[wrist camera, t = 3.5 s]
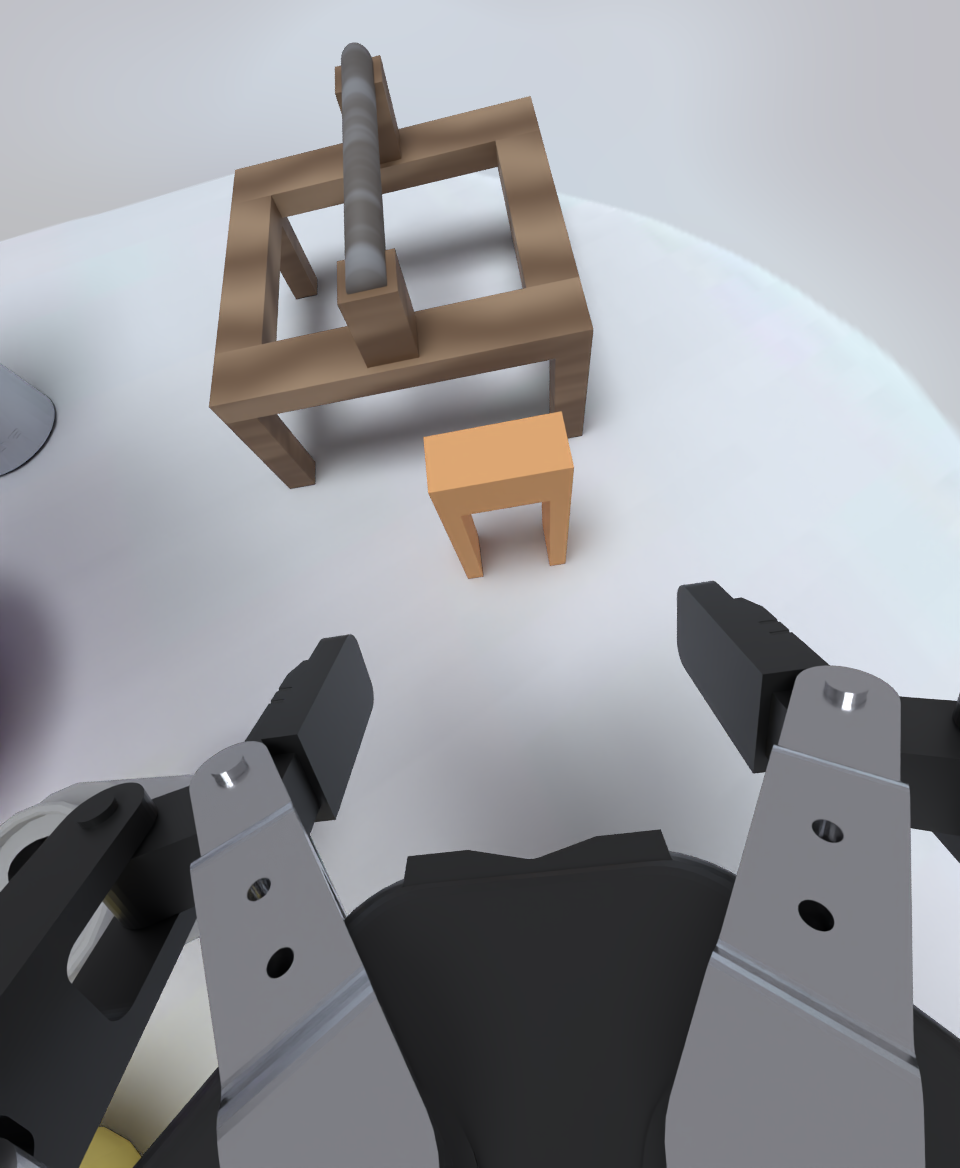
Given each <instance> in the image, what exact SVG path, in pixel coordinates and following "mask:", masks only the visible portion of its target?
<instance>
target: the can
mask: <svg viewBox="0 0 960 1168" xmlns="http://www.w3.org/2000/svg"><path fill="white" fill-rule="evenodd" d="M193 776H194V775H184V776H169V777H155V778H140V779H126V780H111V781H97V782H83V783H76V784H74V785H71V786H69V787H67V788H64V789H62V790H60V791H57V792H55V793H53V794H51V795H49V796H48V797H47V798H46V799H44V800H43V801H42V802H41V803H39V804H37V805H34V806H32V807H30V808H27V809H25V810H23V811H20V812H18V813H16V814H15V815H13V816H12V817H11V818H10V819H8V820H7V821H6V822H4V823H3V824H2V825H1V826H0V892H1V890H2V889H3V888H4V887H5V886H6V885H7V884H8V882H9V881H10V880H11V879H12V878H13V877H14V876H15V874H16V873H17V872H18V871H19V870H20V869H21V868H22V866H23V865H24V864H25V863H26V862H27V861H28V860H29V858H30V857H31V856H32V855H33V854H34V853H35V852H36V850H37V849H38V848H39V847H40V846H41V845H42V844H43V842H44V841H45V840H46V839H47V838H48V837H49V836H50V834H51V833H52V832H53V831H54V830H55V829H56V828H57V826H58V825H59V824H60V823H61V822H62V821H63V820H64V819H65V818H66V816H67V815H68V814H70V813H71V812H72V811H73V810H74V809H75V808H76V807H78V806H79V805H80V804H82V803H83V802H84V801H86V800H87V799H89V798H90V797H92V796H94V795H96V794H97V793H99V792H101V791H103V790H105V789H108V788H110V787H112V786H115V785H118V784H123V783H129V782H134V783H139V784H140V785H142V786H143V788H144V789H145V791H146V792H147V794H148V795H149V797H150V798H151V799H154V798H156V797H159V796H162V795H165V794H167V793H170V792H173V791H176V790H179V789H181V788H184V787H187V786H190V782H191V780H192V778H193ZM113 917H114V915H113V914H112V912H111V911H110V910H109V909H108V908H107V906H106V905H105V904H104V903H103V902H102V903H101V904H100V906H99V907H98V909H97V910H96V912H95V913H94V915H93V916H92V918H91V919H90V921H89V922H88V924H87V925H86V927H85V928H84V930H83V931H82V933H81V934H80V936H79V937H78V939H77V940H76V942H75V944H74V945H73V948H72V950H71V952H70V955H69V959H68V964H67V975H68V979H69V981H70V982H71V984H72V982H73V981H74V979H75V978H76V976H77V974H78V973H79V971H80V970H81V968H82V966H83V965H84V963H85V962H86V960H87V958H88V957H89V955H90V954H91V952H92V950H93V949H94V947H95V946H96V944H97V942H98V941H99V939H100V938H101V936H102V934H103V933H104V931H105V930H106V928H107V926H108V925H109V923H110V922H111V920H112V918H113ZM198 937H200V936H199V929H198V922H197V919H196V921H195V923H194V925H193V928H192V930H191V932H190V934H189V936H188V938H187V940H186V942H185V944H187V943H189V942H191V941H192V940H194V939H196V938H198Z"/></svg>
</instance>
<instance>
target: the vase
mask: <svg viewBox="0 0 960 1168" xmlns="http://www.w3.org/2000/svg"><path fill="white" fill-rule="evenodd" d="M140 1158H141V1156H140V1154H139V1153H138V1152H137V1150H136V1149H135V1148H134V1146H133V1145H132V1143H131V1142H130V1141H128V1140H127V1139H125V1138H123V1137H121V1136H120V1135H118V1134H116V1133H114V1132H113V1131H111V1130H109V1129H108V1128H106V1127H98V1129H97V1131H96V1133H95V1135H94V1137H93V1139H92V1141H91V1143H90V1146H89V1148H88V1150H87V1152H86V1154H85V1156H84V1158H83V1160H82V1163H81V1165H80V1167H79V1168H133V1166H134V1165H135V1164H136V1163H137V1162H138V1161H139V1159H140Z"/></svg>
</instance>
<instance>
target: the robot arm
mask: <svg viewBox="0 0 960 1168" xmlns="http://www.w3.org/2000/svg"><path fill="white" fill-rule="evenodd" d="M54 414H55V411H54V407H53V404H52V402H51V401H50V399H49V398H48V397H47V396H45V395H44V394H43V393H41V392H40V391H38V390H37V389H36V388H34V387H33V386H31V385H30V384H29V383H27V382H26V381H24V380H23V379H22V378H20V377H19V376H17V375H16V374H15V373H13V372H12V371H10V370H9V369H8V368H6V367H5V366H3V365H2V364H1V363H0V475H2V474H5V473H7V472H9V471H12V470H14V469H15V468H17V467H18V466H20V465H22V464H23V463H25V462H26V461H27V460H28V459H29V458H31V457H32V456H33V455H34V454H35V453H36V452H37V451H38V450H39V448H40V447H41V446H42V445H43V443H44V442H45V440H46V439H47V437H48V435H49V433H50V431H51V429H52V426H53V422H54ZM677 646H678V652H679V656H680V659H681V662H682V664H683V666H684V668H685V670H686V671H687V673H688V674H689V676H690V677H691V679H692V680H693V682H694V684H695V685H696V687H697V688H698V690H699V691H700V693H701V694H702V696H703V697H704V699H705V700H706V702H707V703H708V705H709V707H710V708H711V710H712V711H713V713H714V714H715V716H716V717H717V719H718V720H719V722H720V723H721V725H722V726H723V728H724V730H725V731H726V733H727V734H728V736H729V737H730V739H731V740H732V742H733V743H734V745H735V746H736V748H737V750H738V751H739V753H740V754H741V756H742V757H743V759H744V760H745V762H746V763H747V765H748V766H749V768H750V769H751V771H752V773H762V772H766V773H765V776H764V780H763V783H762V787H761V791H760V794H759V798H758V801H757V805H756V808H755V812H754V816H753V819H752V823H751V826H750V830H749V833H748V837H747V841H746V844H745V848H744V851H743V855H742V858H741V862H740V866H739V869H738V873H737V875H735V874H733V873H732V872H730V871H728V870H725V869H723V868H721V867H719V866H717V865H715V864H713V863H710V862H707V861H705V860H702V859H699V858H696V857H693V856H689V855H685V854H681V853H675V852H669V850H668V848H667V845H666V842H665V840H664V837H663V834H662V832H661V830H652V831H642V832H633V833H624V834H614V835H605V836H596V837H593V838H591V839H588V840H585V841H583V842H580V843H577V844H574V845H572V846H569V847H566V848H564V849H561V850H558V851H556V852H553V853H550V854H548V855H545V856H542V857H539V858H536V859H523V858H517V857H510V856H503V855H497V854H490V853H484V852H477V851H471V850H463V851H454V852H445V853H435V854H426V855H416V856H408V858H407V864H406V870H405V877H404V879H403V880H400V881H398V882H396V883H394V884H392V885H390V886H388V887H386V888H384V889H382V890H380V891H379V892H377V893H376V894H374V895H373V896H371V897H370V898H368V899H367V900H366V901H364V902H363V903H362V904H361V905H359V906H358V907H357V908H356V909H355V910H353V911H352V912H351V913H350V914H349V915H348V916H347V914H346V912H345V910H344V907H343V905H342V903H341V901H340V899H339V897H338V894H337V892H336V890H335V888H334V886H333V884H332V881H331V879H330V877H329V875H328V873H327V870H326V868H325V866H324V864H323V862H322V860H321V857H320V855H319V853H318V851H317V849H316V847H315V844H314V842H313V840H312V838H311V836H310V832H311V830H312V827H313V824H314V822H320V821H328V820H336V817H337V814H338V811H339V808H340V805H341V802H342V799H343V796H344V793H345V790H346V787H347V784H348V781H349V778H350V775H351V772H352V769H353V766H354V763H355V760H356V757H357V754H358V751H359V748H360V745H361V742H362V739H363V736H364V733H365V730H366V726H367V723H368V720H369V717H370V714H371V711H372V708H373V701H374V696H373V687H372V683H371V680H370V677H369V674H368V671H367V668H366V666H365V663H364V660H363V657H362V654H361V651H360V648H359V645H358V642H357V640H356V638H355V637H354V636H353V635H351V634H350V635H343V636H336V637H330V638H323V639H321V640H320V642H319V643H318V645H317V647H316V648H315V650H314V652H313V653H312V655H311V657H310V658H309V660H305V661H303V662H302V663H300V664H299V665H298V666H297V667H296V668H295V669H293V670H292V671H291V672H290V673H289V674H288V675H287V676H286V678H285V679H284V681H283V683H282V684H281V686H280V687H279V691H278V692H276V693H275V695H274V697H273V698H272V700H271V704H268V706H267V708H266V709H265V711H264V712H263V714H262V715H261V717H260V718H259V720H258V722H257V723H256V725H255V726H254V728H253V729H252V731H251V732H250V734H249V736H248V737H247V739H246V740H245V742H242V743H238V744H235V745H233V746H230V747H228V748H226V749H224V750H222V751H220V752H218V753H217V754H215V755H214V756H212V757H211V758H210V759H209V760H207V761H206V762H205V763H204V764H203V765H202V766H201V767H200V768H199V769H198V770H197V771H196V773H195V774H194V776H193V778H192V780H191V782H190V786H187V787H184V788H181V789H179V790H176V791H173V792H170V793H167V794H165V795H162V796H159V797H156V798H154V799H151V798H150V797H149V795H148V794H147V792H146V791H145V789H144V788H143V786H142V785H140V784H139V783H134V782H129V783H123V784H118V785H115V786H112V787H110V788H108V789H105V790H103V791H101V792H99V793H97V794H96V795H94V796H92V797H90V798H89V799H87V800H86V801H84V802H83V803H82V804H80V805H79V806H78V807H76V808H75V809H74V810H73V811H72V812H71V813H70V814H68V815H67V816H66V818H65V819H64V820H63V821H62V822H61V823H60V824H59V825H58V826H57V828H56V829H55V830H54V831H53V832H52V833H51V834H50V836H49V837H48V838H47V839H46V840H45V841H44V842H43V844H42V845H41V846H40V847H39V848H38V849H37V850H36V852H35V853H34V854H33V855H32V856H31V857H30V858H29V860H28V861H27V862H26V863H25V864H24V865H23V866H22V868H21V869H20V870H19V871H18V872H17V873H16V874H15V876H14V877H13V878H12V879H11V880H10V881H9V882H8V884H7V885H6V886H5V887H4V888H3V889H2V890H1V892H0V1168H79V1167H80V1165H81V1163H82V1160H83V1158H84V1156H85V1154H86V1152H87V1150H88V1148H89V1146H90V1143H91V1141H92V1139H93V1137H94V1135H95V1133H96V1131H97V1129H98V1127H99V1124H100V1122H101V1120H102V1118H103V1116H104V1114H105V1112H106V1110H107V1107H108V1105H109V1103H110V1101H111V1099H112V1097H113V1095H114V1093H115V1091H116V1088H117V1086H118V1084H119V1082H120V1080H121V1078H122V1076H123V1074H124V1072H125V1069H126V1067H127V1065H128V1063H129V1061H130V1059H131V1057H132V1055H133V1052H134V1050H135V1048H136V1046H137V1044H138V1042H139V1040H140V1038H141V1036H142V1033H143V1031H144V1029H145V1027H146V1025H147V1023H148V1021H149V1019H150V1016H151V1014H152V1012H153V1010H154V1008H155V1006H156V1004H157V1002H158V1000H159V997H160V995H161V993H162V991H163V989H164V987H165V985H166V983H167V980H168V978H169V976H170V974H171V972H172V970H173V968H174V966H175V964H176V961H177V959H178V957H179V955H180V953H181V951H182V949H183V947H184V945H185V942H186V940H187V938H188V936H189V934H190V932H191V930H192V928H193V925H194V923H195V921H196V919H197V922H198V929H199V936H200V943H201V949H202V956H203V963H204V970H205V977H206V984H207V991H208V997H209V1004H210V1011H211V1018H212V1025H213V1032H214V1039H215V1045H216V1052H217V1059H218V1068H217V1069H216V1070H215V1071H214V1072H213V1073H212V1075H211V1076H210V1077H209V1078H208V1079H207V1081H206V1082H205V1083H204V1084H203V1085H202V1086H201V1088H200V1089H199V1090H198V1091H197V1092H196V1094H195V1095H194V1096H193V1097H192V1098H191V1099H190V1101H189V1102H188V1103H187V1104H186V1105H185V1106H184V1108H183V1109H182V1110H181V1111H180V1112H179V1114H178V1115H177V1116H176V1117H175V1118H174V1119H173V1121H172V1122H171V1123H170V1124H169V1125H168V1126H167V1128H166V1129H165V1130H164V1131H163V1132H162V1134H161V1135H160V1136H159V1137H158V1138H157V1139H156V1141H155V1142H154V1143H153V1144H152V1145H151V1146H150V1148H149V1149H148V1150H147V1151H146V1152H145V1153H144V1155H143V1156H142V1157H141V1158H140V1159H139V1161H138V1162H137V1163H136V1164H135V1165H134V1166H133V1168H960V1039H959V1038H958V1037H956V1036H955V1035H954V1034H952V1033H951V1032H950V1031H948V1030H947V1029H946V1028H944V1027H943V1026H942V1025H940V1024H939V1023H938V1022H936V1021H935V1020H934V1019H932V1018H931V1017H930V1016H928V1015H927V1014H925V1013H924V1012H923V1011H921V1010H920V1009H919V1008H917V1007H916V1006H915V1005H913V971H912V899H911V828H913V829H919V830H925V831H932V832H933V833H934V834H935V836H936V837H937V838H938V839H939V840H940V841H941V842H942V844H943V845H944V846H945V847H946V848H947V849H948V850H949V852H950V853H951V854H952V855H953V856H954V857H955V858H956V860H957V861H958V862H959V863H960V694H959V697H958V700H957V701H951V700H938V699H924V698H911V697H901V696H899V695H898V693H897V692H896V691H895V690H894V689H893V688H892V687H891V686H890V685H889V684H888V683H886V682H884V681H883V680H881V679H880V678H878V677H876V676H874V675H871V674H869V673H866V672H863V671H860V670H857V669H853V668H848V667H842V666H830V665H829V664H828V663H826V662H825V661H824V660H823V659H822V658H821V657H820V656H818V655H817V654H816V653H815V652H814V651H813V650H812V649H810V648H809V647H808V646H807V645H806V644H805V643H804V642H803V641H801V640H800V639H799V638H798V637H797V636H796V635H795V634H793V633H792V632H791V633H790V632H789V629H788V628H787V627H785V626H784V625H783V624H782V623H781V622H778V621H777V619H776V618H775V617H774V616H773V615H772V614H771V613H769V612H768V611H767V610H766V609H765V608H764V607H762V606H760V605H758V604H755V603H753V602H751V601H748V600H746V599H744V598H735V599H733V598H732V597H731V596H730V595H729V594H728V593H727V592H726V591H725V590H724V589H723V588H722V587H721V586H720V585H719V584H718V583H716V582H715V581H708V582H701V583H695V584H688V585H681V586H680V587H679V588H678V592H677ZM102 902H103V903H104V904H105V905H106V906H107V908H108V909H109V910H110V911H111V912H112V914H113V915H114V917H113V918H112V920H111V922H110V923H109V925H108V926H107V928H106V930H105V931H104V933H103V934H102V936H101V938H100V939H99V941H98V942H97V944H96V946H95V947H94V949H93V950H92V952H91V954H90V955H89V957H88V958H87V960H86V962H85V963H84V965H83V966H82V968H81V970H80V971H79V973H78V974H77V976H76V978H75V979H74V981H73V982H72V984H71V982H70V981H69V979H68V975H67V964H68V959H69V955H70V952H71V950H72V948H73V945H74V944H75V942H76V940H77V939H78V937H79V936H80V934H81V933H82V931H83V930H84V928H85V927H86V925H87V924H88V922H89V921H90V919H91V918H92V916H93V915H94V913H95V912H96V910H97V909H98V907H99V906H100V904H101V903H102Z"/></svg>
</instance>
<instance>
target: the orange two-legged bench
mask: <svg viewBox="0 0 960 1168" xmlns="http://www.w3.org/2000/svg"><path fill="white" fill-rule="evenodd" d="M423 438H424V450H425V461H426V472H427V484H428V493H429V496H430V498H431V500H432V502H433V504H434V506H435V508H436V511H437V513H438V515H439V517H440V519H441V521H442V523H443V526H444V528H445V530H446V532H447V534H448V536H449V538H450V541H451V543H452V545H453V547H454V549H455V551H456V553H457V556H458V558H459V560H460V562H461V564H462V566H463V568H464V571H465V573H466V575H467V577H468V579H470V578H477V577H483V570H482V562H481V554H480V547H479V539H478V534H477V531H476V528H475V525H474V522H473V519H472V516H471V514H475V513H480V512H486V511H492V510H498V509H504V508H510V507H516V506H521V505H527V504H533V503H539V502H542V525H543V531H544V536H545V542H546V547H547V553H548V558H549V564H550V566H552V565H559V564H565V561H566V550H567V539H568V528H569V516H570V505H571V494H572V483H573V472H574V466H573V461H572V456H571V452H570V447H569V443H568V438H567V434H566V429H565V424H564V420H563V415H562V411H560V412H555V413H550V414H544V415H539V416H534V417H528V418H523V419H518V420H512V421H507V422H502V423H496V424H491V425H486V426H480V427H475V428H470V429H464V430H459V431H454V432H448V433H443V434H438V435H432V436H427V437H423Z"/></svg>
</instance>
